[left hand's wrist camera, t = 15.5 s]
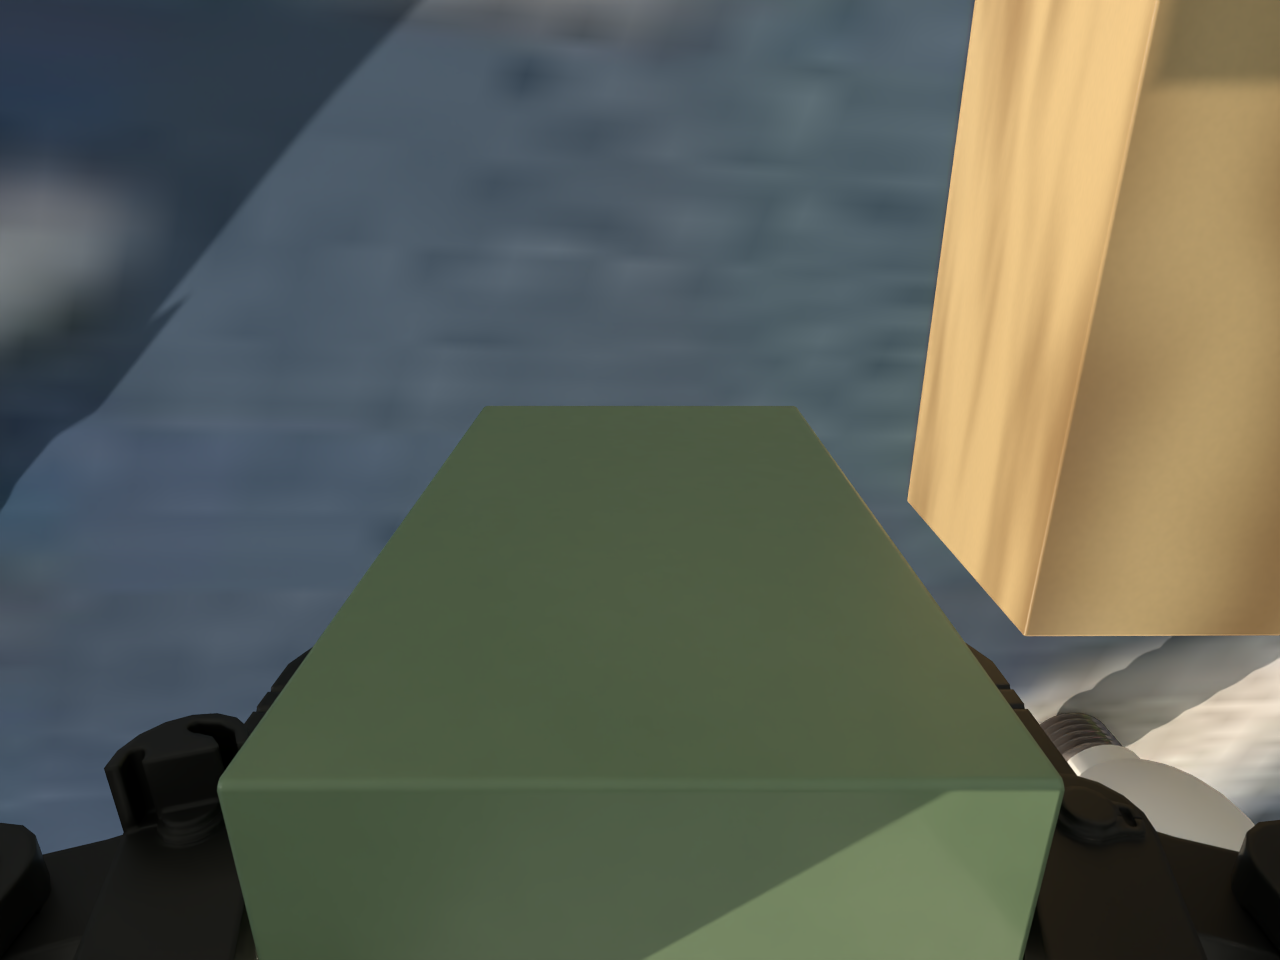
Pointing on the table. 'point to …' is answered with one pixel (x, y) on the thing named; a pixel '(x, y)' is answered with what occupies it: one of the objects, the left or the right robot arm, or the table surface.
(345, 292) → the table surface
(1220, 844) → the light bulb
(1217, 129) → the plank
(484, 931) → the cap block
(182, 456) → the table surface
